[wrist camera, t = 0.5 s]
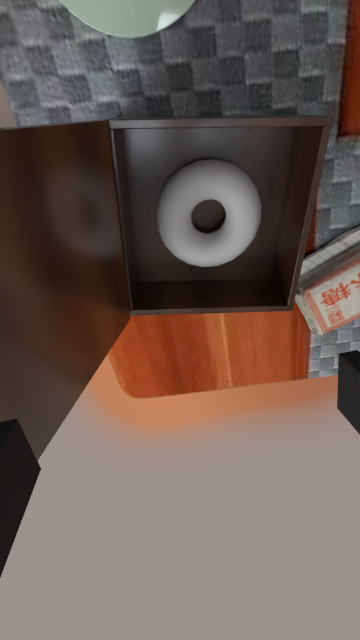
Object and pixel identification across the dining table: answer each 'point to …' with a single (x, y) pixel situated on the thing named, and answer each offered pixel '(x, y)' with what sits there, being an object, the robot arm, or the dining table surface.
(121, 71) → the dining table surface
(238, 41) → the dining table surface
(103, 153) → the lid
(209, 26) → the dining table surface
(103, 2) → the saucer
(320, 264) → the packaged product
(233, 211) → the donut
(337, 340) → the dining table surface
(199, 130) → the wooden box
